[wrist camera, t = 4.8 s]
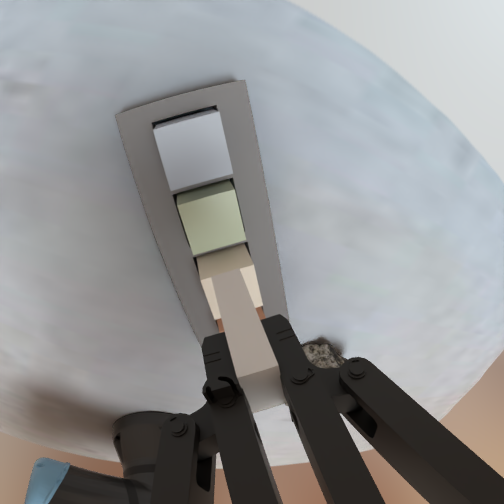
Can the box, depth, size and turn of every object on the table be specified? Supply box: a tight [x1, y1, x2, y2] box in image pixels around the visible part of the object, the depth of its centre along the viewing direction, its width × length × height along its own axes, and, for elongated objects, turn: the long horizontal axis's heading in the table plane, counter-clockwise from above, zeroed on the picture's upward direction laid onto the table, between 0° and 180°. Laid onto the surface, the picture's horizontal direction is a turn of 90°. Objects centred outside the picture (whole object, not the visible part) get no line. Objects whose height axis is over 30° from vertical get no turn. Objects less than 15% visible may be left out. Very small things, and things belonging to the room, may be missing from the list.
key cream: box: [196, 243, 263, 320], centre depth 27 cm, size 4×4×4 cm
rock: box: [285, 344, 347, 406], centre depth 41 cm, size 13×10×10 cm
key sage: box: [177, 179, 246, 255], centre depth 25 cm, size 4×4×4 cm
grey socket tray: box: [115, 80, 289, 348], centre depth 28 cm, size 10×26×3 cm, turn 11°
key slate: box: [153, 109, 233, 191], centre depth 21 cm, size 4×4×4 cm
